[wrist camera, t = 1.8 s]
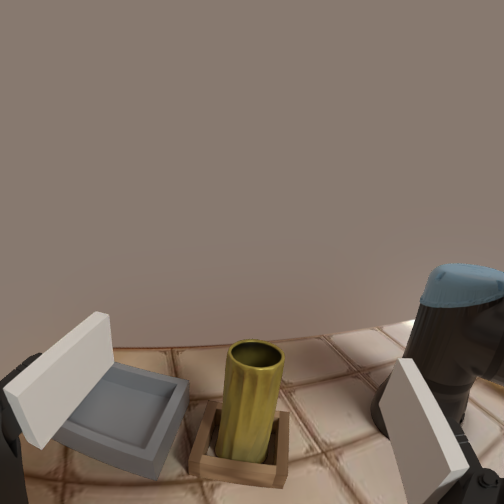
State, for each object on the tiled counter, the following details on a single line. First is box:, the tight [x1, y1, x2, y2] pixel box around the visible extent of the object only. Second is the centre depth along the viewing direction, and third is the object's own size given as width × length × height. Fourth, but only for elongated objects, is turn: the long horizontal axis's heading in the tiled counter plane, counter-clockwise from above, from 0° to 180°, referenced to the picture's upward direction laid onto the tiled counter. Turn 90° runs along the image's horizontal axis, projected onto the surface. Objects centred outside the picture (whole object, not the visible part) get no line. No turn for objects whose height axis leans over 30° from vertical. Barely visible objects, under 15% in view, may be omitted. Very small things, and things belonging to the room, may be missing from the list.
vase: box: [215, 339, 285, 464], centre depth 29 cm, size 6×6×14 cm
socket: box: [188, 400, 289, 489], centre depth 30 cm, size 10×10×3 cm
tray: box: [51, 362, 189, 481], centre depth 31 cm, size 14×14×4 cm
